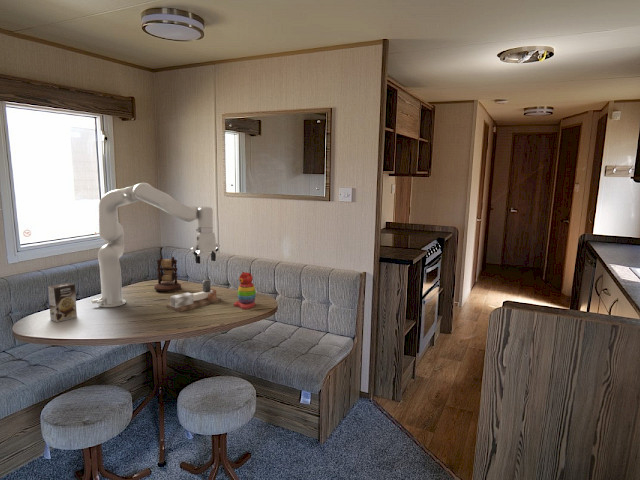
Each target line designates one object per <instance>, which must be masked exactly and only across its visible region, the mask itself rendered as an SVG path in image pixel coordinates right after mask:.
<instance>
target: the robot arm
mask: <svg viewBox="0 0 640 480" xmlns="http://www.w3.org/2000/svg"><path fill="white" fill-rule="evenodd" d="M137 202H144V203H146V204H148V205H151V206H153V207H155V208H158V210H159V209H160V210H162V211H163V212H165V213H167V214H169V215H171V216H173V217H175V218H177V219H179V220H182V221H184V222H187V223H192V222H193V221H195V220H197V228H196V229H195V231H196V232H197V233H196V238H195V245H193V246H191V248H190V250H191V252H192V255H194V256H195V257H194V259H195V263H196V264H199V265H200V264H201V256H200V255H201V253H209V252H210V261H212V262H216V260H217V259H216V258H217V257H216V256H217V253H218V251H219V249H220V246H221V245H220V244H218V243H217V240H216V234H215V232H214V228H213V227H214V224H213V221H214V219H213V217H214V216H213V214H214V212H213V211H214V210H213V208H212V207H210V206H194V205H186V204H183V203H181V202H180V201H177V200H175V199H174V198H173V197H172V196H171V195H170V194H168V193H167V192H165V191H164V192H163V190H162V191H161V190H160V189H158V188H155V187H153V186H152V185H151V184H150V183H147V182H140V183H137V184H134V185H131V186H127V187H125V188H120V189H119V188H117V189H113V190H110V191H108V192H106V193H105V194H104V195H102V197H101V198H100V201H99V204H98V225H99V226H98V227H99V230H98V231H99V232H98V234H99V237H100V239H101V240H102V241H104V245H102V246H101V247H100V248H99V250H98V252H97V259H98V264H99V275H100V276H99V277H100V288H101V289H100V291H101V293H100V294H101V295H100V296H99V297H98V298H96V299H92V300H91V303H92V304H97V305H98V306H99V307H101V308H114V307H115V308H116V307H120V306H124V305H125V304H126V302H127V301H126V299H124V298H123V287H122V286H123V285H122V271H121V262H120V258H121V257H122V256H123V255H124V253H125V231H124V227H123V225H122V224H121V223H120V222H119V219H118V218H119V214H118V208H119V207H122V206H128V205H129V204H134V203H137Z"/></svg>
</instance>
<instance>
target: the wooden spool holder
mask: <svg viewBox="0 0 640 480" xmlns="http://www.w3.org/2000/svg"><path fill="white" fill-rule="evenodd" d="M177 262H178V260H177V259H175V257H174V256H172V257H171V258H163V256H160V257H159V259H157V260H156V263H157V269H156V270H157V284H155V285H154V290H155V291H156V293H158V292H159V291H160V292H170V291H172V293H175V291H176V290H179V289H181V288H182V284H181V283H179V282H178V273H177V271H178V266H177Z"/></svg>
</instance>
